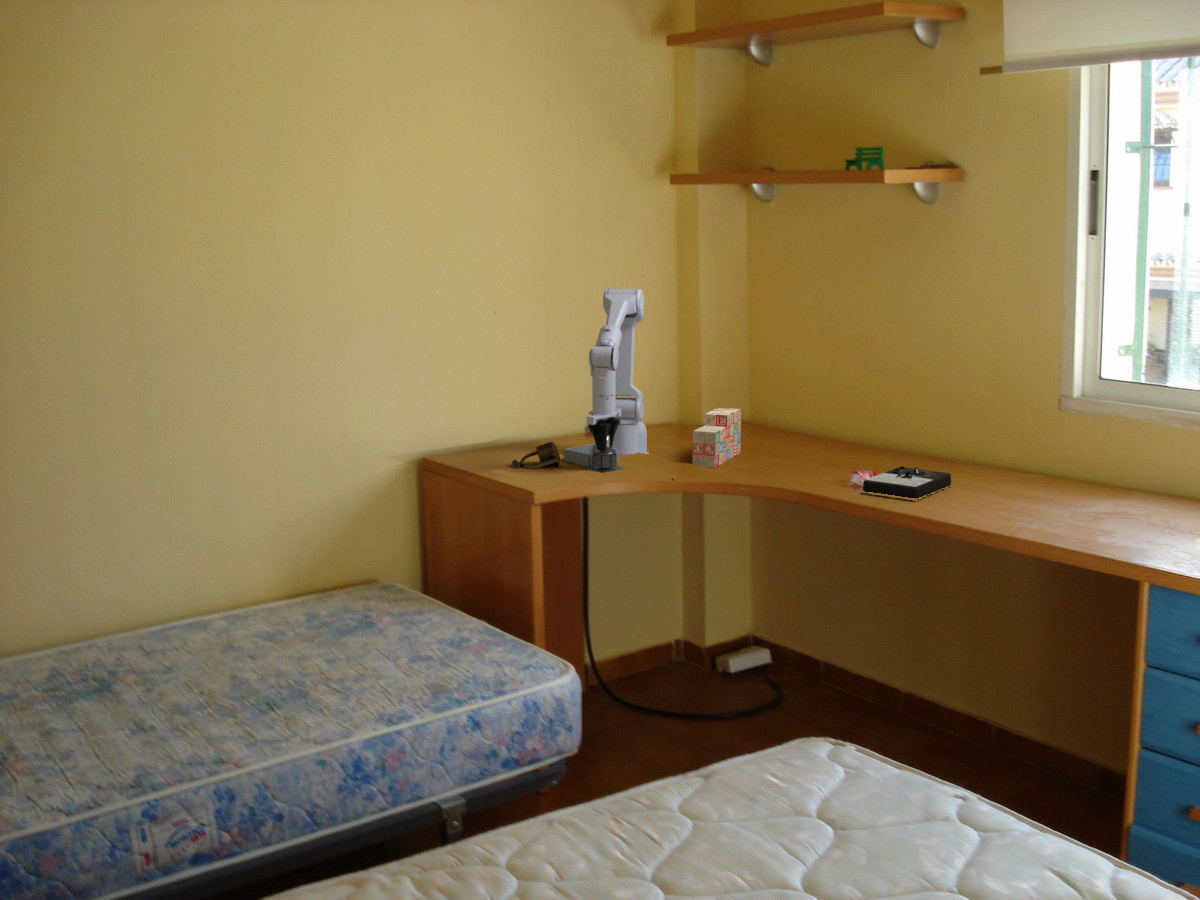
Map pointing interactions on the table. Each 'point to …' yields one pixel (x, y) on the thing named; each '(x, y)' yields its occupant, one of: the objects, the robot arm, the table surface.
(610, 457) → the dark grey stepped cylinder
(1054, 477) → the table surface
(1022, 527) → the table surface
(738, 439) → the stack of blocks
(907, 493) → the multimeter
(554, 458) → the dark brown handled cylinder
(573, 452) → the bin
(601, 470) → the stud mount
